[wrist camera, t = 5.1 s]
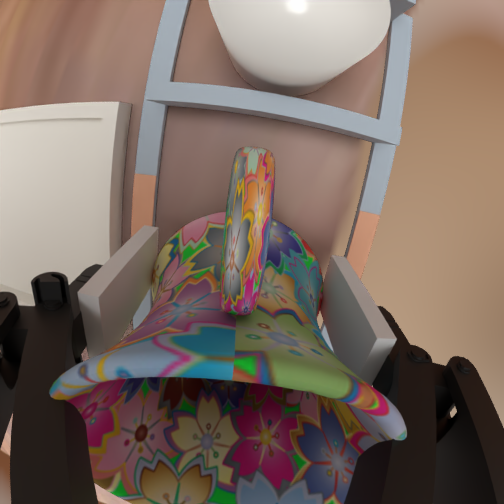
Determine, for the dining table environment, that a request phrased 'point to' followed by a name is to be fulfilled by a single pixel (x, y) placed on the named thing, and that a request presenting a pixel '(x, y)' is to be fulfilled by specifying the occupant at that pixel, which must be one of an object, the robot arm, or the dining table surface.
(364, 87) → the dining table surface
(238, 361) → the mug
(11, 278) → the tray
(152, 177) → the rack
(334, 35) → the white glossy dome
